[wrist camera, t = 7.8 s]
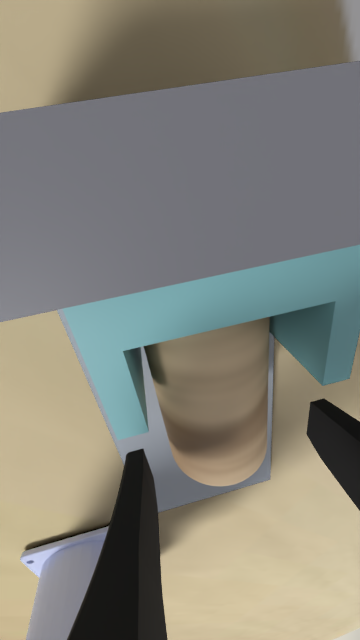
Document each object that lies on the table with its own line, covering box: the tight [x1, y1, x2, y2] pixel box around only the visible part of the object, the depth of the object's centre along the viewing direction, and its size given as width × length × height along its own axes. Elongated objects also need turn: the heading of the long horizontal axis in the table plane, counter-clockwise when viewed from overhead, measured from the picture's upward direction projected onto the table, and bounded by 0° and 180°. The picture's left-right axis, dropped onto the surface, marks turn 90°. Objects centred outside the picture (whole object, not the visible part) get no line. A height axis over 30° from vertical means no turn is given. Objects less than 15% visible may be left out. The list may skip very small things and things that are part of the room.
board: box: [57, 309, 274, 513], centre depth 15 cm, size 20×10×1 cm, turn 9°
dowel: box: [144, 317, 270, 486], centre depth 11 cm, size 8×5×5 cm, turn 9°
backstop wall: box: [0, 61, 360, 322], centre depth 7 cm, size 3×9×6 cm, turn 99°
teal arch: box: [63, 245, 360, 440], centre depth 9 cm, size 5×8×5 cm, turn 99°
